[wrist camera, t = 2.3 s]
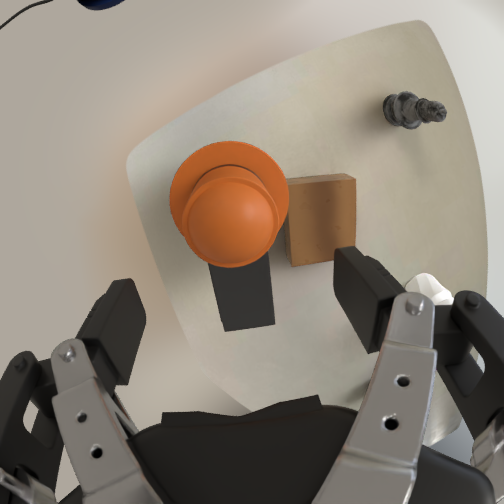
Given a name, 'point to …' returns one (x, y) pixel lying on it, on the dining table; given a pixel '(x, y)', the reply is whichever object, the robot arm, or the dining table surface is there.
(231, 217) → the hat
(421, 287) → the vase
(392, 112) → the chess piece
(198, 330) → the dining table surface
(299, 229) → the stand
